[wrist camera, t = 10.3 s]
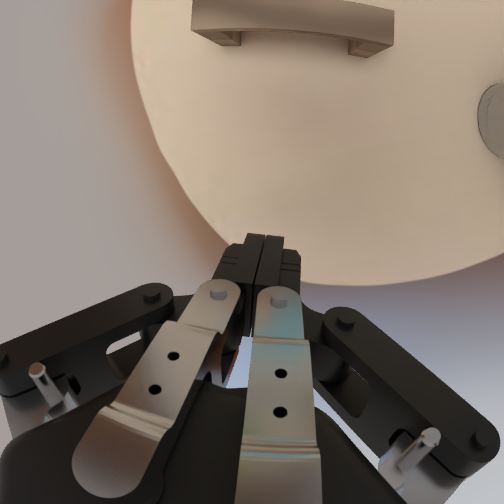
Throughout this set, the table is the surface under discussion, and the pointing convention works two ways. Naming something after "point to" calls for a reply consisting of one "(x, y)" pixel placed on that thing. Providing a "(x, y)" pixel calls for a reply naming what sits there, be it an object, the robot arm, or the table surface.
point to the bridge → (296, 21)
